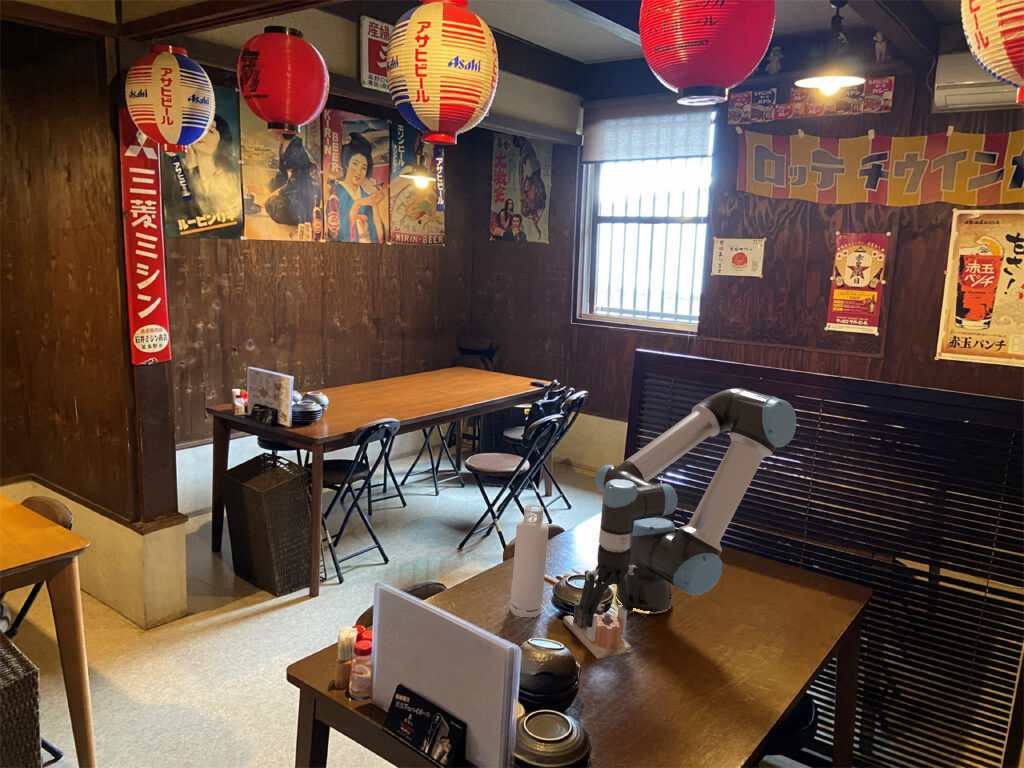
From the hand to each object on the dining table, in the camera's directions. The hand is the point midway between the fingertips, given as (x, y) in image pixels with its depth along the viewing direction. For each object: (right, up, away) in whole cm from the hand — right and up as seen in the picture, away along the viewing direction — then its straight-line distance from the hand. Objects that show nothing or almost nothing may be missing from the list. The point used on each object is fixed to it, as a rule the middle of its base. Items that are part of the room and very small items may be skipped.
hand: (605, 635), depth 176 cm
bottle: (-19, +1, +15) cm, 24 cm away
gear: (0, -1, 0) cm, 1 cm away
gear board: (-2, -2, +4) cm, 5 cm away
